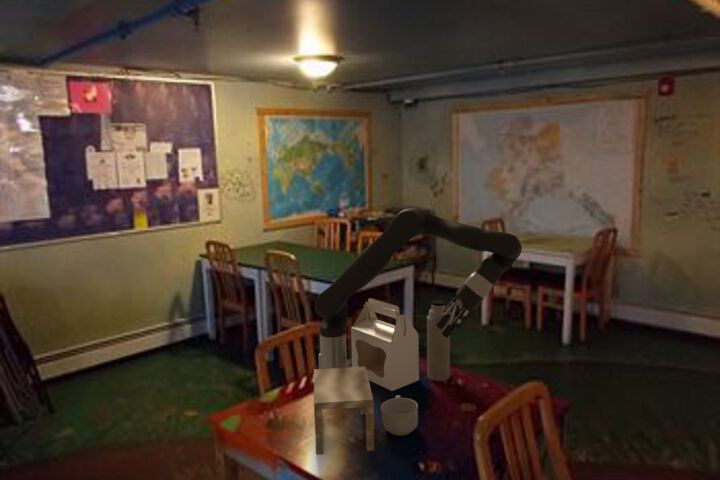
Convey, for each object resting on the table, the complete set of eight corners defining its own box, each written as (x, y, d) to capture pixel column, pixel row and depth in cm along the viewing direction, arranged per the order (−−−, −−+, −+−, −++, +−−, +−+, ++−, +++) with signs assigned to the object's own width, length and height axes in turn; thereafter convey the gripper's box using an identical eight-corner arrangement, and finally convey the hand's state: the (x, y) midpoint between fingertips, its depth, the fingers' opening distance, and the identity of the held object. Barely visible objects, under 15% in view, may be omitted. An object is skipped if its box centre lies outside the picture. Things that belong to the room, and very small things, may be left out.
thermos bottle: (427, 371, 205) (426, 298, 200) (449, 372, 204) (449, 298, 200) (427, 380, 197) (427, 304, 193) (450, 381, 196) (450, 304, 192)
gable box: (351, 372, 207) (349, 299, 202) (378, 363, 215) (376, 292, 210) (392, 391, 190) (391, 312, 185) (419, 380, 198) (419, 304, 193)
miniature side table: (366, 411, 176) (365, 366, 174) (374, 450, 153) (373, 399, 151) (316, 414, 175) (314, 369, 172) (316, 454, 152) (313, 403, 150)
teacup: (416, 441, 158) (415, 415, 156) (378, 438, 160) (377, 412, 158) (420, 417, 171) (420, 393, 170) (385, 415, 173) (385, 391, 172)
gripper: (459, 277, 175) (427, 318, 176) (471, 287, 160) (436, 331, 161) (477, 292, 175) (445, 332, 177) (490, 302, 161) (455, 346, 162)
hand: (441, 331), depth 169 cm, fingers open, 8 cm apart
